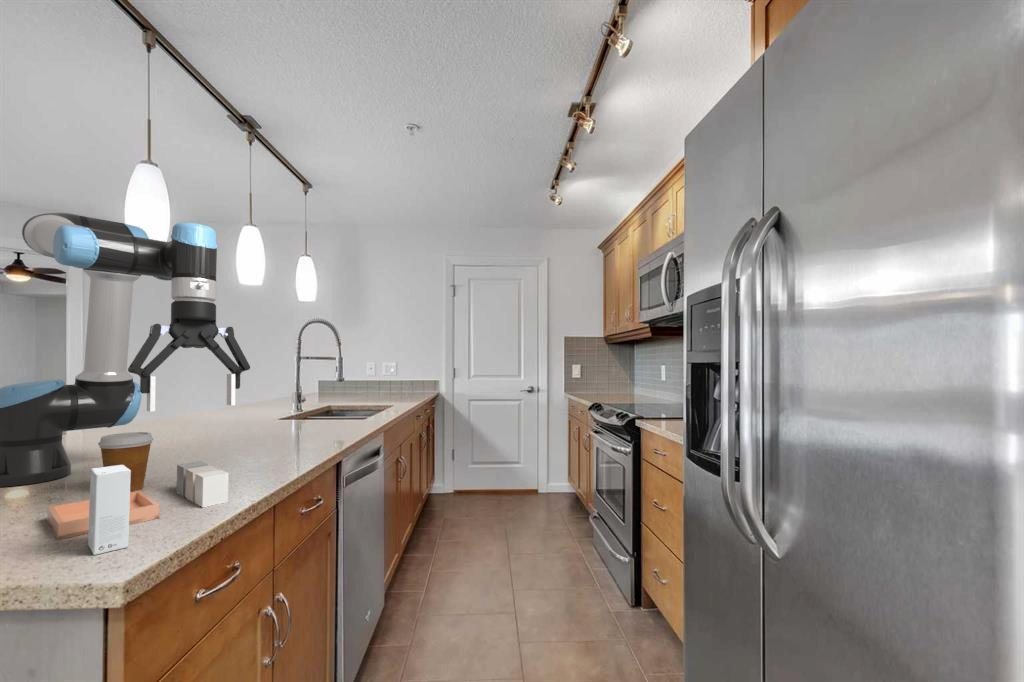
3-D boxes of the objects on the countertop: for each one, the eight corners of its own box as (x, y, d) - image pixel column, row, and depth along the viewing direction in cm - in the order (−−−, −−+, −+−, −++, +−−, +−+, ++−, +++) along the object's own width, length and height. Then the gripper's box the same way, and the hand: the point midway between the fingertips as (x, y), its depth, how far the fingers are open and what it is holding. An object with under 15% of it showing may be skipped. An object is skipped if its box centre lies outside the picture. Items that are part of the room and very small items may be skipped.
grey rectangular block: (176, 492, 102) (177, 464, 103) (200, 488, 106) (200, 461, 106) (183, 496, 99) (183, 467, 100) (207, 491, 103) (207, 464, 103)
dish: (47, 521, 84) (47, 506, 84) (140, 503, 95) (140, 490, 95) (58, 540, 76) (58, 524, 76) (159, 518, 86) (159, 504, 86)
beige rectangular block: (185, 497, 98) (185, 469, 99) (209, 493, 102) (210, 465, 102) (192, 502, 96) (193, 472, 96) (217, 497, 99) (217, 468, 99)
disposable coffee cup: (128, 496, 99) (130, 439, 100) (84, 496, 99) (85, 438, 100) (162, 484, 109) (164, 431, 109) (122, 483, 109) (123, 431, 109)
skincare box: (129, 547, 73) (131, 469, 73) (93, 556, 70) (95, 474, 70) (122, 537, 77) (124, 463, 77) (87, 545, 74) (89, 468, 74)
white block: (194, 503, 95) (195, 473, 95) (219, 498, 98) (220, 469, 98) (202, 508, 92) (203, 477, 92) (227, 502, 95) (228, 473, 95)
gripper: (118, 293, 83) (116, 415, 82) (266, 304, 102) (266, 403, 101) (109, 298, 88) (107, 412, 87) (253, 308, 106) (252, 402, 105)
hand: (193, 408), depth 94 cm, fingers open, 13 cm apart
